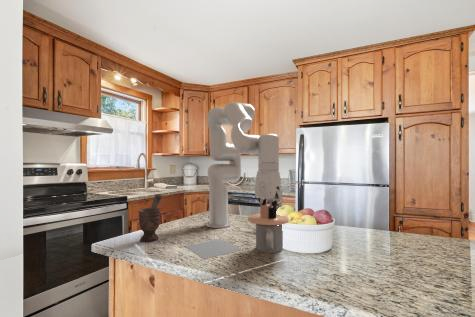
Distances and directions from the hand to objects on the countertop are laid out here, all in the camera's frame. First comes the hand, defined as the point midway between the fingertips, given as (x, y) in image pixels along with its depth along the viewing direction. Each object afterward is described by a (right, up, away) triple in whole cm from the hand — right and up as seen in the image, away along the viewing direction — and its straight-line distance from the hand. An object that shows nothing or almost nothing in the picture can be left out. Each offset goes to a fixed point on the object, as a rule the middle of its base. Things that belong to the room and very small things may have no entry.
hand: (268, 216), depth 96 cm
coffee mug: (0, -13, 0) cm, 13 cm away
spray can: (+7, -13, +35) cm, 38 cm away
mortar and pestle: (-46, -13, +11) cm, 49 cm away
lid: (0, -1, 0) cm, 1 cm away
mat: (-21, -13, +1) cm, 24 cm away
